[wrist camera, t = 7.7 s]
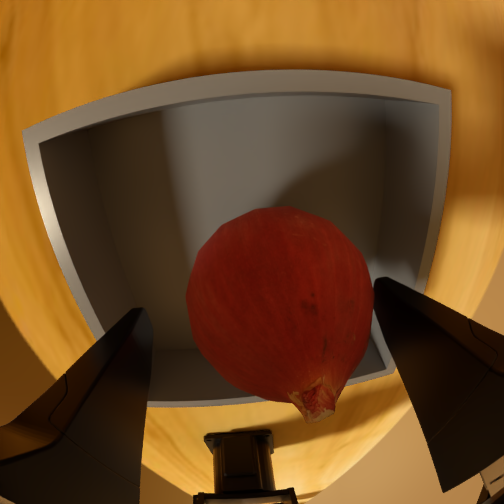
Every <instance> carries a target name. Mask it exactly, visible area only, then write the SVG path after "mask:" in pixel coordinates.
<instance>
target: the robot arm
mask: <svg viewBox="0 0 504 504" xmlns="http://www.w3.org/2000/svg"><path fill="white" fill-rule="evenodd" d="M373 291H374V305H373V309H374V312H375V315H376V317H377V320H378V323H379V326H380V329H381V332H382V335H383V337H384V340H385V343H386V345H387V347H388V349H389V351H390V354H391V356H392V358H393V360H394V362H395V365H396V367H397V369H398V371H399V374H400V376H401V378H402V381H403V383H404V385H405V388H406V390H407V393H408V395H409V397H410V400H411V402H412V405H413V407H414V410H415V412H416V415H417V418H418V420H419V423H420V425H421V428H422V431H423V434H424V436H425V439H426V442H427V445H428V448H429V451H430V454H431V457H432V460H433V463H434V466H435V469H436V472H437V475H438V479H439V482H440V485H441V489H442V492H443V493H445V492H447V491H448V490H451V489H452V488H454V487H456V486H458V485H460V484H461V483H463V482H465V481H466V480H468V479H470V478H471V477H473V476H475V475H476V474H478V473H480V475H481V478H482V480H483V483H484V485H483V488H482V491H481V493H480V496H479V499H478V501H477V504H504V335H502V334H499V333H497V332H495V331H493V330H491V329H488V328H487V327H485V326H483V325H481V324H479V323H477V322H475V321H473V320H472V319H470V318H467V317H466V316H464V315H462V314H460V313H458V312H456V311H455V310H453V309H451V308H449V307H447V306H445V305H443V304H441V303H439V302H437V301H435V300H433V299H431V298H429V297H427V296H425V295H424V294H422V293H420V292H418V291H416V290H414V289H412V288H410V287H408V286H406V285H404V284H402V283H400V282H397V281H395V280H393V279H391V278H389V277H387V276H385V277H379V278H376V279H375V281H374V286H373ZM152 349H153V326H152V324H151V321H150V319H149V316H148V314H147V311H146V309H145V308H144V307H137V308H132V309H131V310H130V311H128V312H127V313H126V314H125V315H124V316H123V317H122V318H121V319H120V320H119V321H118V322H117V323H116V324H115V325H113V326H112V327H111V328H110V329H109V330H108V331H107V332H106V333H105V334H104V335H103V336H102V337H101V338H100V339H99V340H98V341H97V342H96V343H95V344H94V345H93V346H92V347H90V348H89V349H88V350H87V351H86V352H85V353H84V354H83V355H82V356H81V357H80V358H79V359H78V360H77V361H76V362H75V363H74V364H73V365H72V366H71V367H70V368H69V369H68V370H67V371H66V374H65V373H64V374H63V375H62V376H61V377H60V378H59V379H58V380H57V381H56V382H55V383H54V384H53V385H52V386H51V387H50V388H49V389H48V390H47V391H46V392H45V393H43V394H42V395H41V396H40V397H39V398H38V399H37V400H36V401H34V402H33V403H32V404H31V405H30V406H29V407H28V408H26V409H25V410H24V411H23V412H22V413H21V414H20V415H18V416H17V417H16V418H15V419H14V420H12V421H11V422H10V423H8V424H6V425H3V426H1V427H0V504H139V499H140V488H139V487H140V475H141V460H142V448H143V437H144V427H145V418H146V410H147V402H148V394H149V387H150V380H151V372H152ZM204 442H205V443H206V445H207V447H208V448H209V450H210V451H211V453H212V454H213V466H214V491H215V493H204V492H198V495H193V504H263V503H273V502H282V503H273V504H298V501H297V498H296V494H295V491H294V488H293V487H292V488H287V489H283V490H276V488H275V481H274V475H273V468H272V461H271V454H273V453H274V450H273V436H272V431H270V430H266V431H257V432H248V433H236V434H222V435H206V436H204Z"/></svg>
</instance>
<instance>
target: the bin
mask: <svg viewBox="0 0 504 504" xmlns="http://www.w3.org/2000/svg"><path fill="white" fill-rule="evenodd" d="M451 122H452V102H451V90H448V89H445V88H441V87H437V86H433V85H428V84H424V83H419V82H415V81H410V80H404V79H399V78H393V77H386V76H380V75H372V74H364V73H354V72H343V71H328V70H259V71H243V72H232V73H222V74H214V75H206V76H199V77H192V78H186V79H181V80H175V81H170V82H165V83H160V84H155V85H151V86H147V87H142V88H138V89H134V90H130V91H127V92H123V93H120V94H116V95H113V96H109V97H106V98H103V99H100V100H97V101H93V102H91V103H88V104H85V105H82V106H79V107H76V108H74V109H71V110H68V111H66V112H63V113H61V114H58V115H56V116H53V117H51V118H49V119H46V120H44V121H42V122H40V123H37V124H35V125H33V126H31V127H29V128H27V129H25V130H23V131H22V135H23V141H24V146H25V152H26V157H27V162H28V166H29V171H30V175H31V179H32V183H33V187H34V191H35V195H36V198H37V202H38V205H39V208H40V212H41V215H42V218H43V221H44V224H45V227H46V230H47V233H48V236H49V239H50V241H51V244H52V247H53V249H54V252H55V255H56V257H57V260H58V262H59V265H60V267H61V269H62V272H63V274H64V276H65V279H66V281H67V283H68V285H69V288H70V290H71V292H72V294H73V296H74V298H75V300H76V302H77V305H78V307H79V309H80V311H81V313H82V314H83V316H84V318H85V320H86V322H87V324H88V326H89V328H90V330H91V331H92V333H93V335H94V337H95V338H96V340H97V341H98V340H99V339H100V338H101V337H102V336H103V335H104V334H105V333H106V332H107V331H108V330H109V329H110V328H111V327H112V326H113V325H115V324H116V323H117V322H118V321H119V320H120V319H121V318H122V317H123V316H124V315H125V314H126V313H127V312H128V311H130V310H131V309H132V308H137V307H144V308H145V309H146V311H147V314H148V316H149V319H150V321H151V324H152V326H153V349H152V372H151V380H150V387H149V394H148V402H147V407H205V406H222V405H234V404H245V403H254V402H262V401H270V400H265V399H262V398H260V397H257V396H255V395H252V394H249V393H247V392H245V391H242V390H240V389H238V388H236V387H234V386H233V385H232V384H230V383H229V382H227V381H226V380H225V379H224V378H223V377H222V376H221V375H220V374H219V373H218V372H217V370H216V369H215V368H214V367H213V366H212V365H211V364H210V363H209V362H208V360H207V359H206V358H205V357H204V356H203V355H202V354H201V352H200V350H199V349H198V347H197V345H196V343H195V342H194V340H193V336H192V331H191V326H190V321H189V315H188V309H187V304H186V298H185V295H186V291H187V286H188V282H189V278H190V275H191V272H192V268H193V265H194V262H195V259H196V256H197V253H198V251H199V250H200V249H201V247H202V246H203V245H204V244H205V243H206V242H207V241H208V239H209V238H210V237H211V236H212V235H213V234H214V233H215V232H216V230H217V229H218V228H219V227H220V226H221V225H222V224H224V223H226V222H228V221H230V220H233V219H235V218H237V217H239V216H241V215H243V214H245V213H247V212H249V211H252V210H254V209H258V208H269V207H281V206H291V207H294V208H297V209H300V210H303V211H306V212H308V213H311V214H314V215H317V216H319V217H322V218H324V219H327V220H329V221H331V222H332V223H333V224H334V225H335V226H336V227H337V228H338V229H339V230H340V231H341V232H342V233H343V234H344V235H345V236H346V237H347V238H348V239H349V240H350V241H351V242H352V243H353V244H354V245H355V246H356V247H357V248H358V249H359V251H360V252H361V253H362V255H363V257H364V260H365V262H366V264H367V267H368V270H369V274H370V278H371V282H372V286H374V281H375V279H376V278H379V277H385V276H387V277H389V278H391V279H393V280H395V281H397V282H400V283H402V284H404V285H406V286H408V287H410V288H412V289H414V290H416V291H418V292H420V293H422V294H424V290H425V287H426V283H427V280H428V276H429V273H430V269H431V265H432V261H433V257H434V253H435V249H436V244H437V240H438V235H439V230H440V225H441V220H442V214H443V208H444V202H445V195H446V188H447V180H448V171H449V160H450V147H451ZM395 368H396V365H395V362H394V360H393V358H392V356H391V354H390V351H389V349H388V347H387V345H386V343H385V340H384V337H383V335H382V332H381V329H380V326H379V323H378V320H377V317H376V315H375V312H374V309H373V316H372V325H371V333H370V339H369V344H368V347H367V350H366V353H365V355H364V357H363V359H362V360H361V362H360V363H359V365H358V367H357V368H356V369H355V371H354V372H353V374H352V375H351V377H350V378H349V379H348V381H347V383H346V385H345V386H349V385H353V384H357V383H361V382H365V381H368V380H372V379H376V378H379V377H382V376H386V375H389V374H392V373H394V371H395Z"/></svg>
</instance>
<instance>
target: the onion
mask: <svg viewBox="0 0 504 504" xmlns="http://www.w3.org/2000/svg"><path fill="white" fill-rule="evenodd" d="M185 298H186V304H187V309H188V315H189V321H190V326H191V331H192V336H193V340H194V342H195V343H196V345H197V347H198V349H199V350H200V352H201V354H202V355H203V356H204V357H205V358H206V359H207V360H208V362H209V363H210V364H211V365H212V366H213V367H214V368H215V369H216V370H217V372H218V373H219V374H220V375H221V376H222V377H223V378H224V379H225V380H226V381H227V382H229V383H230V384H232V385H233V386H234V387H236V388H238V389H240V390H242V391H245V392H247V393H249V394H252V395H255V396H257V397H260V398H262V399H265V400H270V401H275V402H285V403H293V404H294V405H295V406H296V407H297V409H298V410H299V411H300V412H301V413H302V415H303V417H304V419H305V421H306V423H313V422H319V421H321V420H322V419H324V418H326V417H328V416H330V415H332V414H334V412H335V404H336V402H337V400H338V398H339V396H340V394H341V392H342V390H343V389H344V387H345V385H346V383H347V381H348V379H349V378H350V377H351V375H352V374H353V372H354V371H355V369H356V368H357V367H358V365H359V363H360V362H361V360H362V359H363V357H364V355H365V353H366V350H367V347H368V344H369V339H370V333H371V325H372V316H373V305H374V291H373V286H372V282H371V278H370V274H369V270H368V267H367V264H366V262H365V260H364V257H363V255H362V253H361V252H360V251H359V249H358V248H357V247H356V246H355V245H354V244H353V243H352V242H351V241H350V240H349V239H348V238H347V237H346V236H345V235H344V234H343V233H342V232H341V231H340V230H339V229H338V228H337V227H336V226H335V225H334V224H333V223H332V222H331V221H329V220H327V219H324V218H322V217H319V216H317V215H314V214H311V213H308V212H306V211H303V210H300V209H297V208H294V207H291V206H281V207H269V208H258V209H254V210H252V211H249V212H247V213H245V214H243V215H241V216H239V217H237V218H235V219H233V220H230V221H228V222H226V223H224V224H222V225H221V226H220V227H219V228H218V229H217V230H216V232H215V233H214V234H213V235H212V236H211V237H210V238H209V239H208V241H207V242H206V243H205V244H204V245H203V246H202V247H201V249H200V250H199V251H198V253H197V256H196V259H195V262H194V265H193V268H192V272H191V275H190V278H189V282H188V286H187V291H186V295H185Z"/></svg>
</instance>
